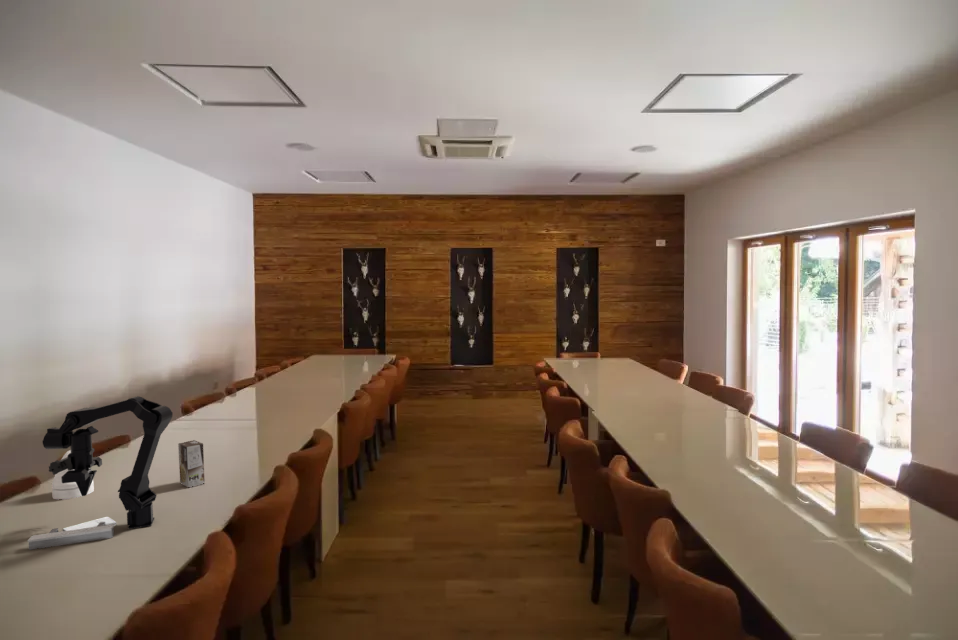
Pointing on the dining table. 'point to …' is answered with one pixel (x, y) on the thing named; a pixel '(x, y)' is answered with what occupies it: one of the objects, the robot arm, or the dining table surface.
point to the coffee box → (191, 463)
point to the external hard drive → (91, 524)
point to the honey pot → (66, 486)
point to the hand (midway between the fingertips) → (84, 495)
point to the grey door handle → (71, 536)
